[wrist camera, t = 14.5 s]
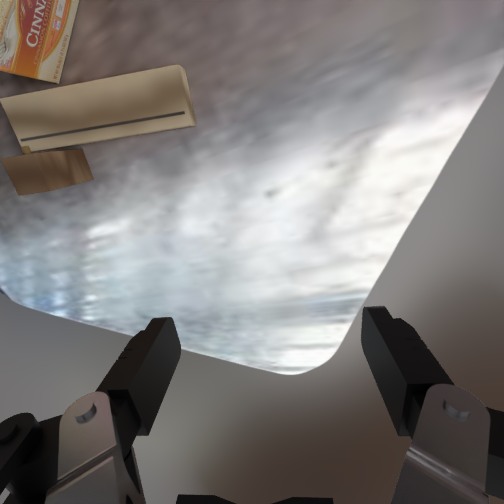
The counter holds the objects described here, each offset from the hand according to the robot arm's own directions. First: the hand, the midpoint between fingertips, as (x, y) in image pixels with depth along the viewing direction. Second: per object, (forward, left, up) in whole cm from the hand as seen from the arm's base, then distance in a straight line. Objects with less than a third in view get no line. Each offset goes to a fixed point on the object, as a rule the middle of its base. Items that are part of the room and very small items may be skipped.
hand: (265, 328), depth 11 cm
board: (-12, -19, -27) cm, 36 cm away
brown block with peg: (-7, -26, -27) cm, 38 cm away
